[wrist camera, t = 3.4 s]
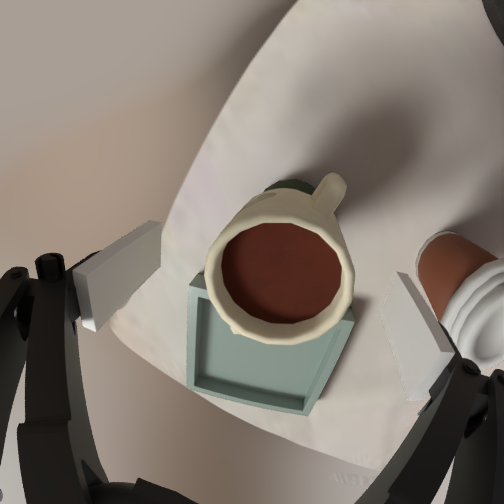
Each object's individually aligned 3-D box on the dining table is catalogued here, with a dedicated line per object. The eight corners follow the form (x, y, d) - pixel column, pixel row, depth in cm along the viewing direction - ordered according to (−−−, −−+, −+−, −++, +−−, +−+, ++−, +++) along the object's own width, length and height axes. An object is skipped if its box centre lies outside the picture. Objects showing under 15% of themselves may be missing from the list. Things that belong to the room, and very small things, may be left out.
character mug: (289, 139, 22) (273, 137, 10) (360, 185, 22) (413, 235, 11) (228, 241, 27) (169, 323, 15) (292, 280, 27) (278, 383, 15)
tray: (197, 273, 29) (188, 285, 26) (351, 307, 27) (354, 322, 25) (192, 375, 35) (186, 388, 33) (308, 401, 33) (307, 416, 31)
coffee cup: (468, 203, 21) (547, 251, 10) (480, 279, 23) (536, 346, 12) (392, 239, 24) (443, 313, 13) (413, 313, 26) (449, 398, 15)
